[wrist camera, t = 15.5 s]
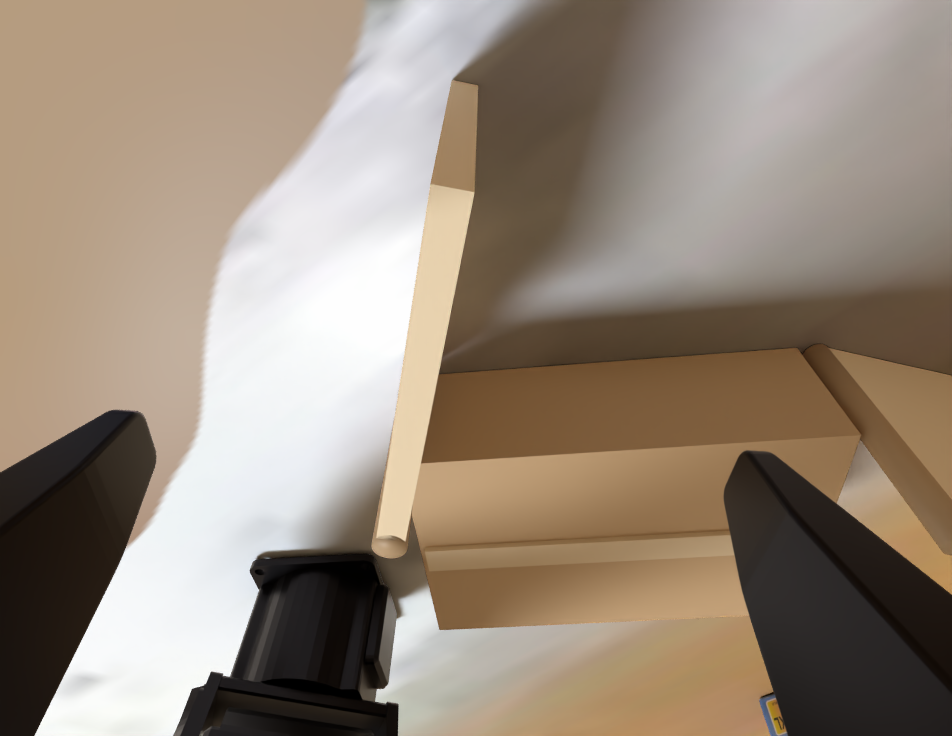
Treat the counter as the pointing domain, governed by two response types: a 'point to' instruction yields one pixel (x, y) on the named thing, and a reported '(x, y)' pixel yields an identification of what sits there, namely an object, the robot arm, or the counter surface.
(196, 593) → the counter surface
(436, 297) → the side flap
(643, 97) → the counter surface
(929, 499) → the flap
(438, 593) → the carton
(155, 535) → the counter surface
